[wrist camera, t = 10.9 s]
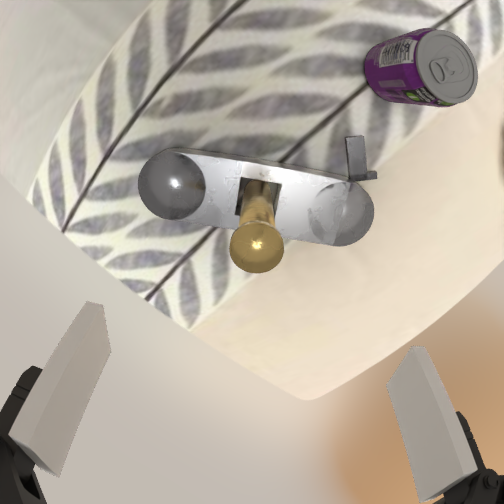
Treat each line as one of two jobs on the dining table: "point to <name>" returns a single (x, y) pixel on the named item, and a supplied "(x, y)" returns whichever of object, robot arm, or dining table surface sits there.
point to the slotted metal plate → (234, 167)
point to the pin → (256, 231)
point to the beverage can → (422, 69)
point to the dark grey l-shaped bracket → (358, 159)
